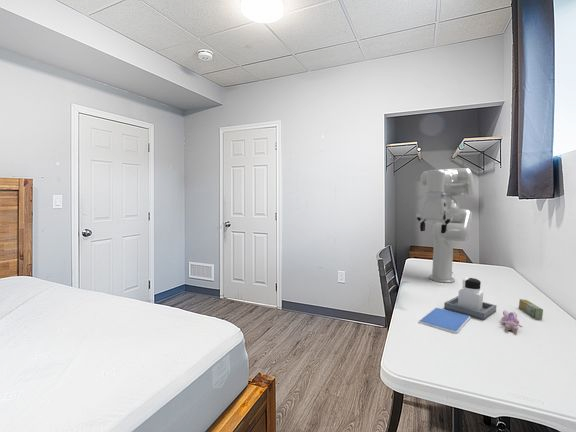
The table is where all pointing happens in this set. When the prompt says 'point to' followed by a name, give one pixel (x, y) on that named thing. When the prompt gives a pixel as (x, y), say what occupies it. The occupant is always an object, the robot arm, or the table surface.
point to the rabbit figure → (510, 321)
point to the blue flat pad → (445, 320)
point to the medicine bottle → (471, 294)
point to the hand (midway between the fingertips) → (432, 232)
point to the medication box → (531, 309)
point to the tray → (482, 314)
